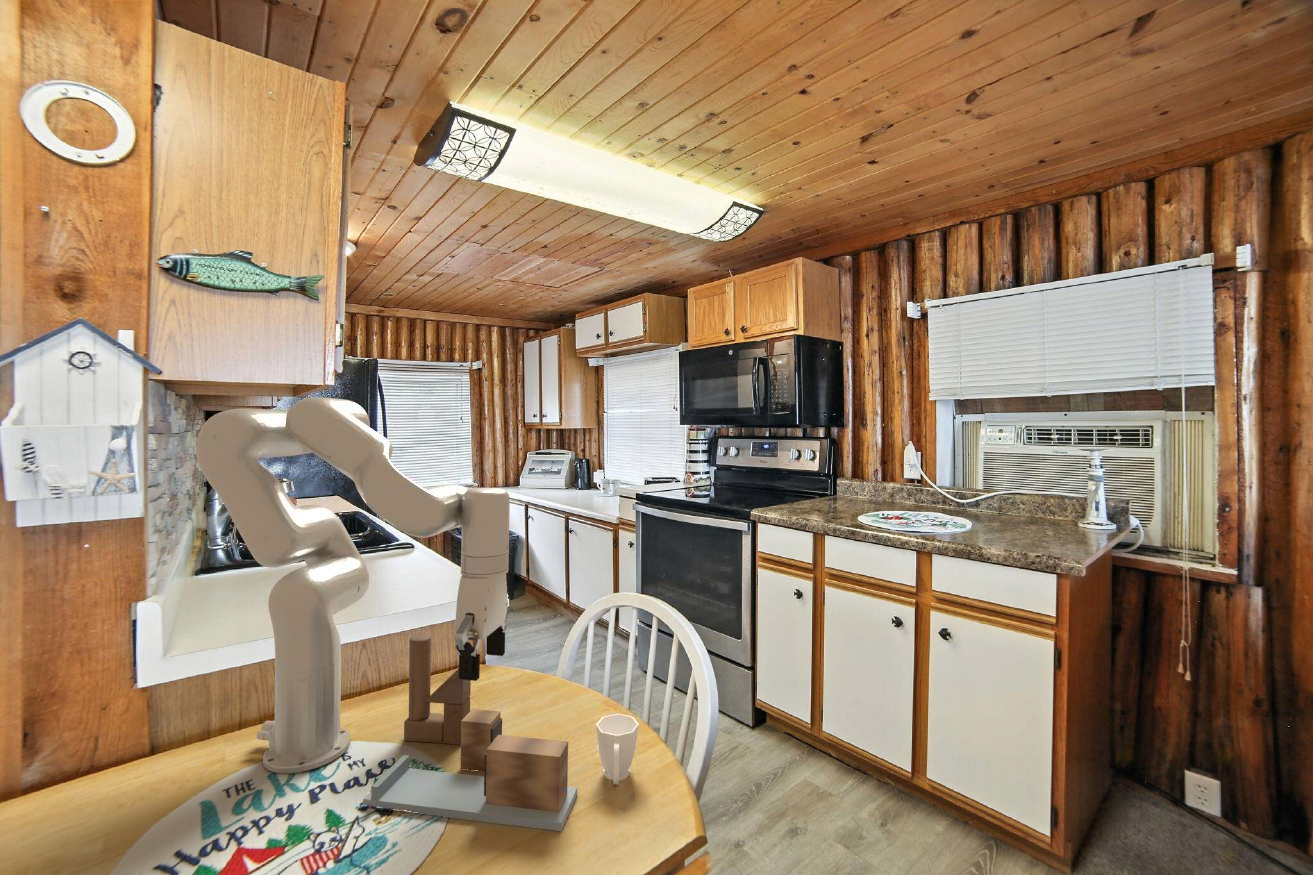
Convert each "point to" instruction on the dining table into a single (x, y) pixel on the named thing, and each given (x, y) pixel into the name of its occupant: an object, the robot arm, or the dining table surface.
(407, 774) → the rail
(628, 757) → the cup
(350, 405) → the robot arm
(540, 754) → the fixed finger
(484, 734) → the brown rectangular block
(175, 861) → the dining table surface
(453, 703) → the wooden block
